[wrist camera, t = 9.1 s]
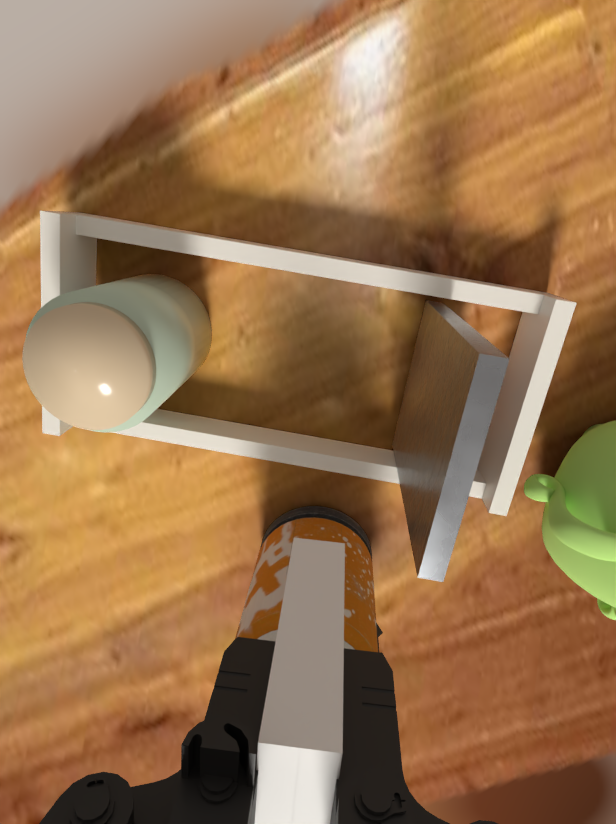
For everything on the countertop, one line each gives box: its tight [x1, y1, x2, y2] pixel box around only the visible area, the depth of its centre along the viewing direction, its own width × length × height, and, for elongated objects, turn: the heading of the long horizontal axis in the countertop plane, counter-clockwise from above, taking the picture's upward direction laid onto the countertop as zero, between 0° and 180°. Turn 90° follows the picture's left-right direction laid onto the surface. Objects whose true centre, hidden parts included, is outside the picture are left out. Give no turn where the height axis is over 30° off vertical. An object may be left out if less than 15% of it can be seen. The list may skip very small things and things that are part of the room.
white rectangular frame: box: [40, 211, 576, 516], centre depth 36 cm, size 32×14×5 cm, turn 81°
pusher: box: [392, 300, 509, 582], centre depth 31 cm, size 3×11×16 cm, turn 171°
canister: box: [235, 506, 383, 652], centre depth 35 cm, size 9×11×20 cm
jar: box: [23, 274, 212, 432], centre depth 33 cm, size 8×8×11 cm
